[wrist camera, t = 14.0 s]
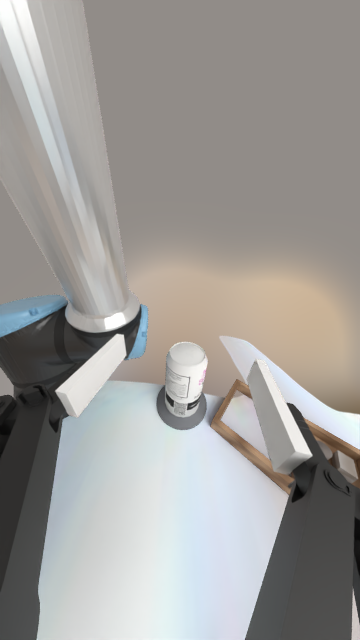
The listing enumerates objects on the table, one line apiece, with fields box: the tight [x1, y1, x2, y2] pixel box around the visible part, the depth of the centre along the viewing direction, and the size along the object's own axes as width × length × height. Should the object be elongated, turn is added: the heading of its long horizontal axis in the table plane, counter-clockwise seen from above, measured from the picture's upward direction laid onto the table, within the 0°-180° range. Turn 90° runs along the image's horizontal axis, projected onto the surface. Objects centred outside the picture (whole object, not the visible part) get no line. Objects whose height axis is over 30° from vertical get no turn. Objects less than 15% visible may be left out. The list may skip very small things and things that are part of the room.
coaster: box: [157, 385, 206, 430], centre depth 34 cm, size 12×12×1 cm
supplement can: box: [165, 342, 208, 418], centre depth 30 cm, size 8×8×15 cm
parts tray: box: [211, 380, 360, 495], centre depth 27 cm, size 24×14×3 cm, turn 50°
